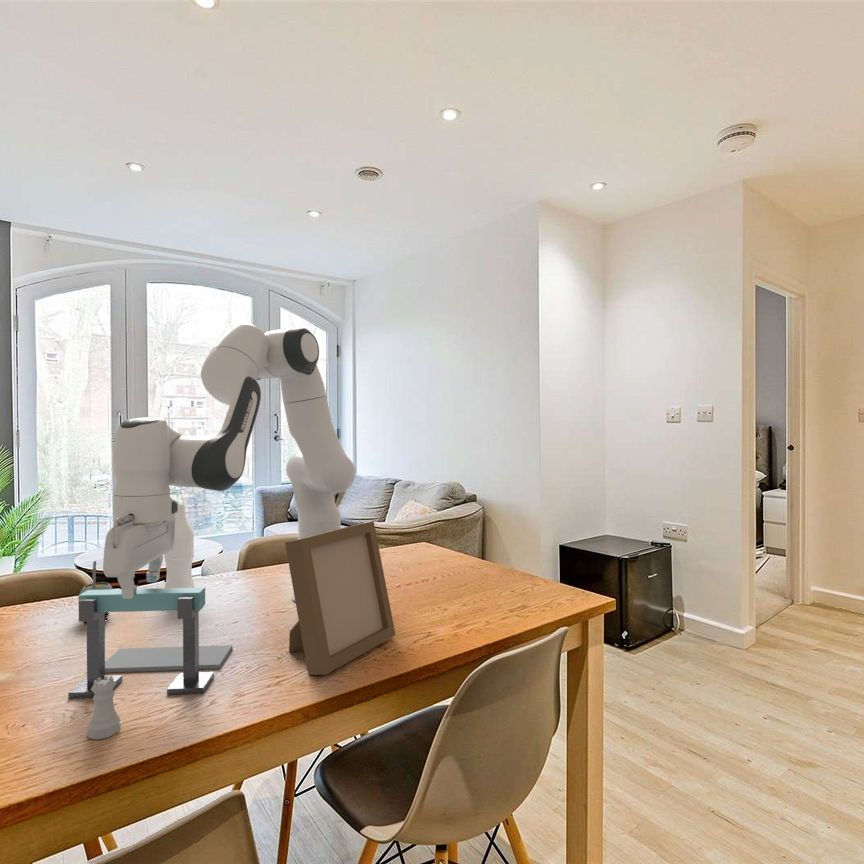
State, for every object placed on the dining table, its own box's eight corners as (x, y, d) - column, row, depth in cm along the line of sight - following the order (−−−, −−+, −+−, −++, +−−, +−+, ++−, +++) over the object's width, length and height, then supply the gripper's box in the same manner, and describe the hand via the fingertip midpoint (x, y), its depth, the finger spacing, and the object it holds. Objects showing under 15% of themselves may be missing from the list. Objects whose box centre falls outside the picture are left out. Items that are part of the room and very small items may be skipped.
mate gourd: (99, 612, 135) (98, 551, 134) (123, 616, 132) (123, 553, 132) (69, 623, 127) (69, 558, 127) (95, 627, 125) (94, 561, 125)
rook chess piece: (96, 725, 85) (95, 673, 85) (126, 723, 86) (126, 672, 85) (80, 741, 81) (79, 687, 81) (112, 740, 81) (111, 686, 81)
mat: (232, 648, 113) (232, 645, 113) (219, 668, 104) (219, 664, 104) (120, 652, 112) (120, 648, 111) (97, 672, 103) (97, 668, 103)
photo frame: (395, 639, 118) (394, 523, 118) (325, 680, 100) (323, 542, 100) (343, 626, 126) (341, 517, 126) (268, 662, 108) (266, 534, 107)
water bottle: (199, 596, 147) (199, 502, 147) (184, 605, 140) (184, 506, 139) (174, 595, 148) (173, 502, 147) (158, 604, 141) (157, 506, 140)
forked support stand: (213, 677, 101) (213, 587, 101) (203, 693, 95) (202, 598, 95) (87, 681, 99) (86, 590, 99) (68, 698, 93) (67, 601, 93)
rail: (205, 604, 99) (205, 587, 99) (199, 609, 96) (199, 592, 96) (88, 606, 97) (87, 589, 97) (78, 612, 94) (78, 595, 94)
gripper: (134, 520, 86) (133, 608, 86) (181, 501, 107) (181, 573, 107) (91, 520, 86) (91, 609, 86) (147, 501, 106) (147, 573, 106)
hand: (141, 589), depth 97 cm, fingers open, 8 cm apart
